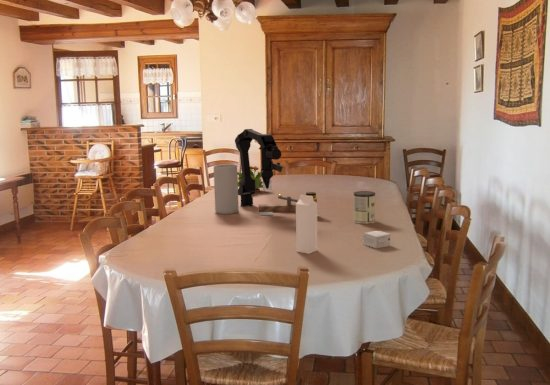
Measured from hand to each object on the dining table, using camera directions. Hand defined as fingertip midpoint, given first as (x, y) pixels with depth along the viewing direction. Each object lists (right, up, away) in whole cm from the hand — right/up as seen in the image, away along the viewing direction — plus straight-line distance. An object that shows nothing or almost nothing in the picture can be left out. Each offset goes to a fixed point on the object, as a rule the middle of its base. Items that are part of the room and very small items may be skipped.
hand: (267, 187), depth 283 cm
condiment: (+22, -15, -10) cm, 28 cm away
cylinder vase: (-22, -13, +4) cm, 26 cm away
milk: (+17, -25, -75) cm, 81 cm away
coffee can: (+47, -17, -25) cm, 56 cm away
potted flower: (-11, -2, +71) cm, 72 cm away
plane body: (+5, -12, +5) cm, 14 cm away
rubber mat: (0, -14, -4) cm, 14 cm away
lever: (+12, -6, +4) cm, 14 cm away
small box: (+45, -24, -69) cm, 85 cm away
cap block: (0, -1, 0) cm, 1 cm away
